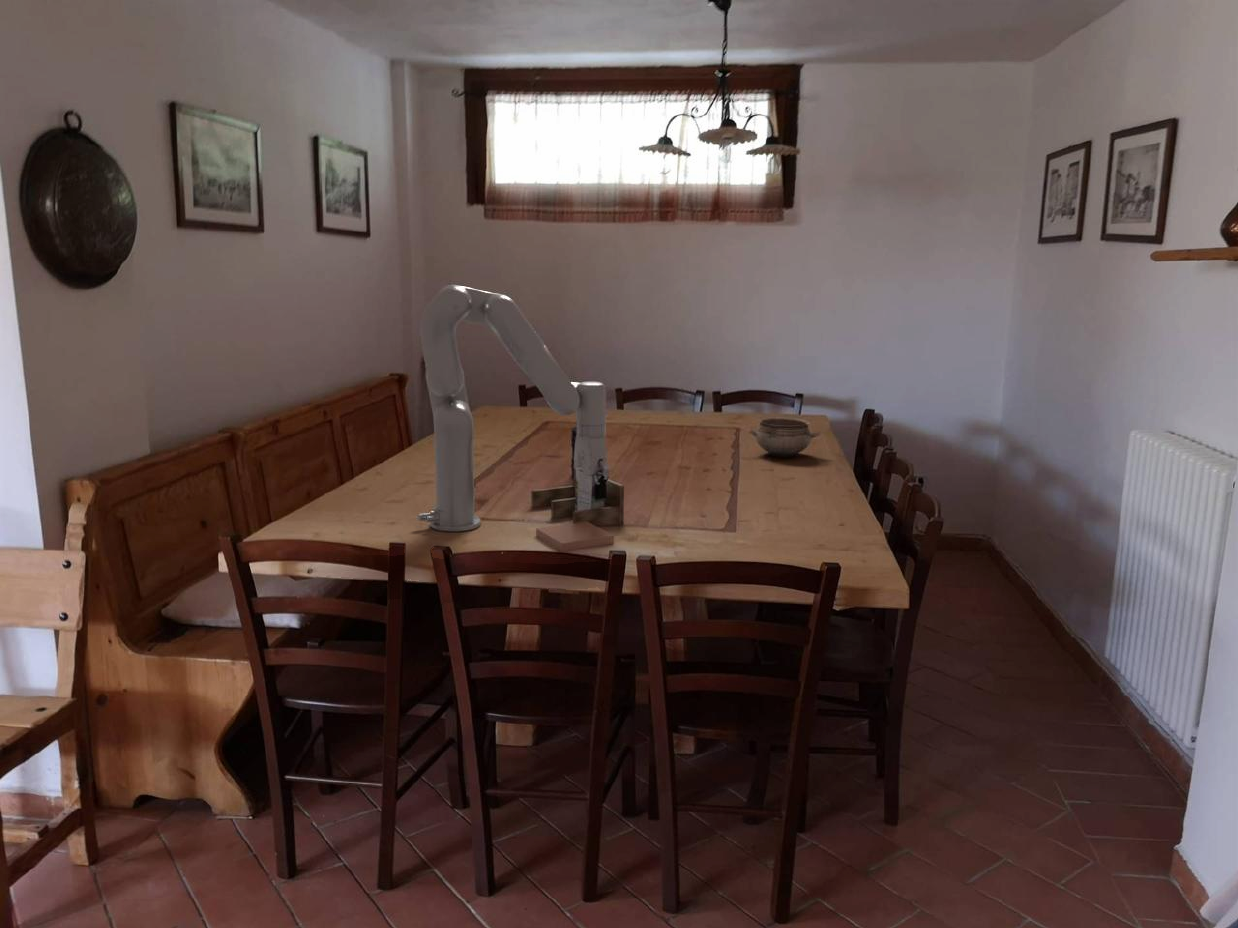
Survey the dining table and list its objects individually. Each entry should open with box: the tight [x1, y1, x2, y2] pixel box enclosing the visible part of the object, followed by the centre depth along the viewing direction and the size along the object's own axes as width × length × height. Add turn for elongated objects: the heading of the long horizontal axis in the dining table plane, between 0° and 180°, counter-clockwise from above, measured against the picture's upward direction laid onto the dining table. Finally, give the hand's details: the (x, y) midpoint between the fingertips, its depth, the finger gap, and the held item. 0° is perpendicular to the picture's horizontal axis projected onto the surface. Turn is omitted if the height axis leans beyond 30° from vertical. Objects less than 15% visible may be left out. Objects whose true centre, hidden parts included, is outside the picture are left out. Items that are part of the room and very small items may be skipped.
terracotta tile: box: [535, 521, 615, 552], centre depth 229 cm, size 14×14×2 cm
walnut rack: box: [530, 469, 625, 528], centre depth 250 cm, size 14×26×10 cm, turn 31°
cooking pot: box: [747, 416, 821, 459], centre depth 329 cm, size 25×19×12 cm
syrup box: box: [575, 466, 605, 511], centre depth 245 cm, size 6×6×14 cm
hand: (591, 494), depth 245 cm, fingers open, 9 cm apart
